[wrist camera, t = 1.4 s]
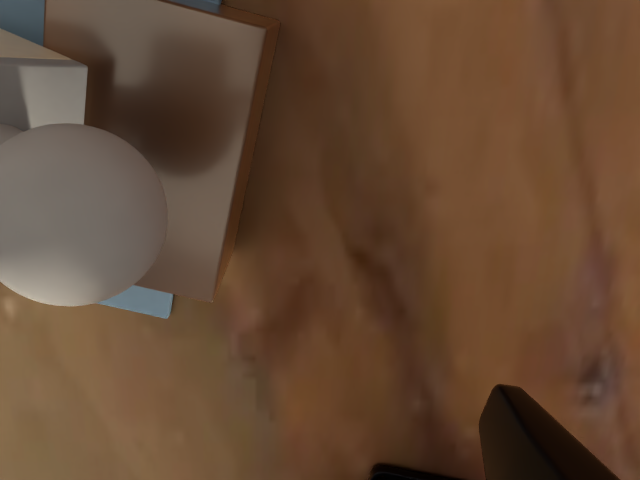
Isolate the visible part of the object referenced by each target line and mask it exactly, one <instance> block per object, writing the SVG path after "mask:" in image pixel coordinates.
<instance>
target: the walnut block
mask: <svg viewBox="0 0 640 480" xmlns="http://www.w3.org/2000/svg"><path fill="white" fill-rule="evenodd" d="M279 29H280V21H279V20H276V19H272V18H269V17H265V16H261V15H258V14H254V13H250V12H247V11H243V10H239V9H236V8H232V7H228V6H225V5H221V4H220V5H218V4H214V3H211V2H207V1H203V0H45V6H44V31H43V47H45V48H47V49H49V50H52V51H54V52H56V53H59V54H61V55H63V56H66V57H68V58H70V59H72V60H75V61H77V62H80V63H82V64H84V65H86V66H87V67H88V74H87V87H86V101H85V115H84V125H87V126H92V127H95V128H98V129H102V130H105V131H107V132H109V133H112V134H114V135H116V136H118V137H119V138H121V139H123V140H125V141H126V142H127V143H129V144H130V145H131V146H133V147H134V148H135V149H136V150H137V151H138V152H140V153H141V154H142V155H143V156H144V158H145V159H146V160H147V161H148V162H149V164H150V165H151V166H152V168H153V169H154V171H155V172H156V174H157V176H158V178H159V180H160V182H161V184H162V187H163V190H164V193H165V198H166V203H167V211H168V222H167V230H166V235H165V239H164V243H163V245H162V248H161V250H160V253H159V255H158V256H157V258H156V260H155V262H154V263H153V265H152V266H151V267H150V268H149V270H148V271H147V272H146V273H145V274H144V276H143V277H142V278H141V279H139V280H138V281H137V282H136V283H135V284H134V285H135V286H139V287H144V288H148V289H152V290H157V291H161V292H166V293H170V294H174V295H179V296H183V297H187V298H192V299H196V300H201V301H205V302H209V303H212V302H213V301H214V299H215V297H216V294H217V291H218V289H219V286H220V284H221V281H222V279H223V276H224V274H225V271H226V268H227V266H228V263H229V261H230V258H231V256H232V253H233V249H234V245H235V240H236V235H237V230H238V225H239V221H240V216H241V211H242V206H243V201H244V197H245V192H246V187H247V182H248V177H249V173H250V168H251V163H252V158H253V153H254V149H255V144H256V139H257V134H258V129H259V125H260V120H261V115H262V110H263V105H264V101H265V96H266V91H267V86H268V81H269V77H270V72H271V67H272V62H273V57H274V53H275V48H276V43H277V38H278V33H279Z"/></svg>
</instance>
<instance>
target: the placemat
mask: <svg viewBox="0 0 640 480" xmlns="http://www.w3.org/2000/svg"><path fill="white" fill-rule="evenodd" d="M203 1H207V2H211V3H214V4H218V5H220V4H221V1H222V0H203ZM44 6H45V0H0V28H1V29H3V30H5V31H8V32H10V33H12V34H15V35H17V36H19V37H22V38H24V39H26V40H29V41H31V42H33V43H36V44H38V45H40V46H42V47H43V31H44ZM173 295H174V294H170V293H166V292H161V291H157V290H152V289H148V288H144V287H139V286H135V285H132V286H131V287H129V288H128V289H126V290H125V291H123V292H122V293H120V294H118V295H116V296H114V297H111V298H109V299H107V300H104V301H101V302H97V303H99V304H103V305H107V306H112V307H116V308H121V309H125V310H130V311H134V312H139V313H143V314H148V315H152V316H157V317H161V318H165V319H167V318H168V317H169V315H170V313H171V307H172V301H173Z"/></svg>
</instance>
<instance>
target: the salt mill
mask: <svg viewBox="0 0 640 480" xmlns="http://www.w3.org/2000/svg"><path fill="white" fill-rule="evenodd" d="M87 74H88V67H87V66H86V65H84V64H82V63H80V62H77V61H75V60H72V59H70V58H68V57H66V56H63V55H61V54H59V53H56V52H54V51H52V50H49V49H47V48H45V47H42V46H40V45H38V44H36V43H33V42H31V41H29V40H26V39H24V38H22V37H19V36H17V35H15V34H12V33H10V32H8V31H5V30H3V29H1V28H0V282H2V283H3V284H4V285H5V286H7V287H8V288H10V289H11V290H13V291H15V292H16V293H18V294H20V295H22V296H24V297H26V298H29V299H32V300H34V301H37V302H41V303H45V304H50V305H58V306H81V305H87V304H93V303H97V302H101V301H104V300H107V299H109V298H111V297H114V296H116V295H118V294H120V293H122V292H123V291H125V290H126V289H128V288H129V287H131V286H132V285H134V284H135V283H136V282H137V281H138V280H139V279H141V278H142V277H143V276H144V274H145V273H146V272H147V271H148V270H149V268H150V267H151V266H152V265H153V263H154V262H155V260H156V258H157V256H158V255H159V253H160V250H161V248H162V245H163V243H164V239H165V235H166V230H167V222H168V211H167V203H166V198H165V193H164V190H163V187H162V184H161V182H160V180H159V178H158V176H157V174H156V172H155V171H154V169H153V168H152V166H151V165H150V164H149V162H148V161H147V160H146V159H145V158H144V156H143V155H142V154H141V153H140V152H138V151H137V150H136V149H135V148H134V147H133V146H131V145H130V144H129V143H127V142H126V141H125V140H123V139H121V138H119V137H118V136H116V135H114V134H112V133H109V132H107V131H105V130H102V129H98V128H95V127H92V126H87V125H84V115H85V101H86V87H87Z"/></svg>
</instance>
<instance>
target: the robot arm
mask: <svg viewBox="0 0 640 480" xmlns="http://www.w3.org/2000/svg"><path fill="white" fill-rule="evenodd" d="M479 433H480V440H481V447H482V455H483V462H484V469H485V476H486V480H620V479H619V478H618V477H617V476H616V475H615V474H614V473H613V472H611V471H610V470H609V469H608V468H607V467H606V466H605V465H604V464H603V463H602V462H601V461H600V460H599V459H597V458H596V457H595V456H594V455H593V454H592V453H591V452H590V451H589V450H588V449H587V448H586V447H584V446H583V445H582V444H581V443H580V442H579V441H578V440H577V439H576V438H575V437H574V436H573V435H571V434H570V433H569V432H568V431H567V430H566V429H565V428H564V427H563V426H562V425H561V424H560V423H559V422H557V421H556V420H555V419H554V418H553V417H552V416H551V415H550V414H549V413H548V412H547V411H546V410H544V409H543V408H542V407H541V406H540V405H539V404H538V403H537V402H536V401H535V400H534V399H533V398H532V397H530V396H529V395H528V394H527V393H526V392H525V391H524V390H523V389H522V388H520V387H517V386H511V385H504V384H498V385H496V386H495V387H494V388H493V389H492V391H491V394H490V396H489V398H488V400H487V403H486V405H485V407H484V409H483V412H482V414H481V417H480V421H479ZM379 476H383V477H379ZM368 480H450V479H446V478H441V477H436V476H431V475H426V474H422V473H417V472H412V471H407V470H403V469H398V468H393V467H388V466H381V465H380V466H376V467H374V468H373V469H372V471H371V473H370V475H369V478H368Z"/></svg>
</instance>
